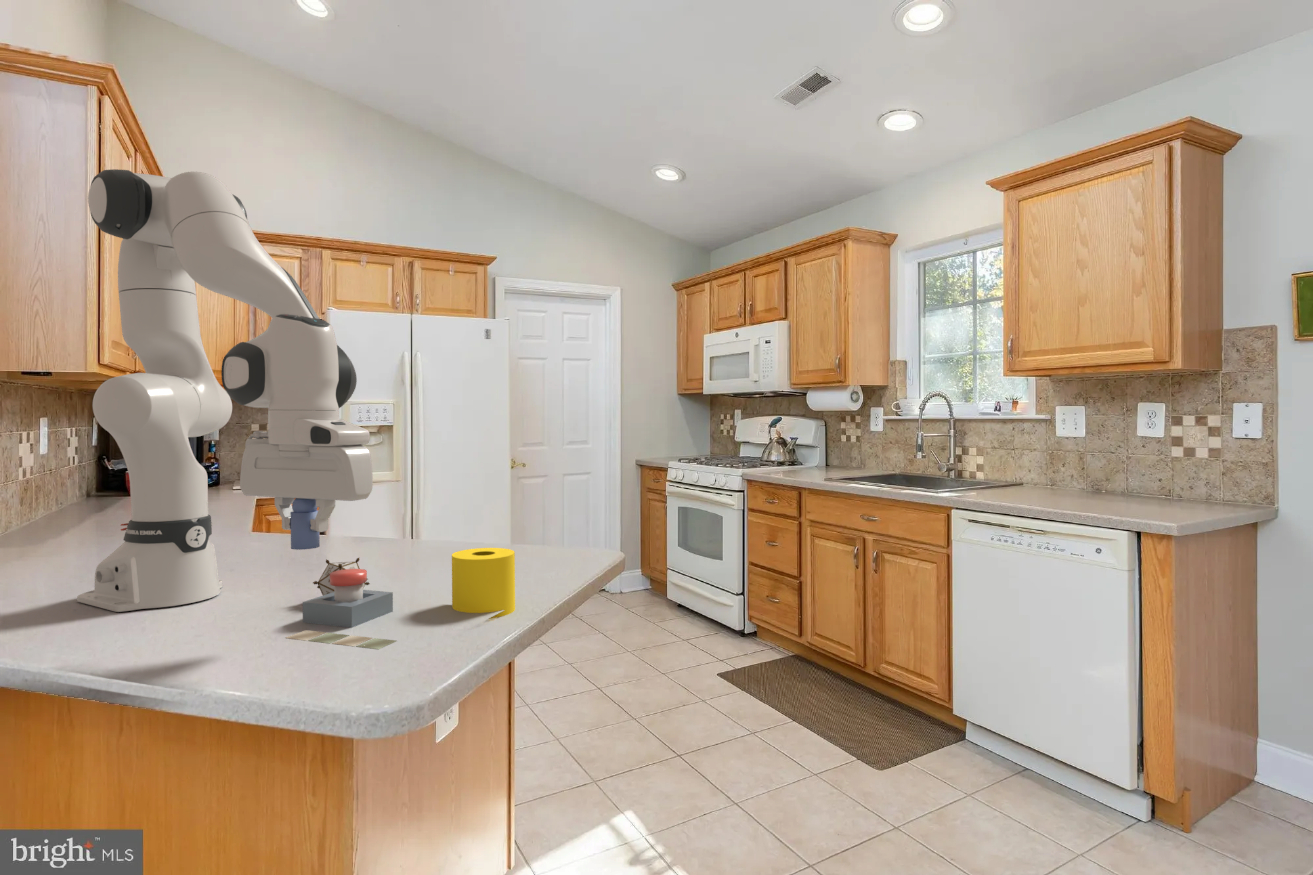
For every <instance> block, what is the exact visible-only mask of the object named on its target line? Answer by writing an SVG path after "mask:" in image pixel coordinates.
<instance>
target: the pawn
mask: <svg viewBox="0 0 1313 875" xmlns="http://www.w3.org/2000/svg"><path fill="white" fill-rule="evenodd" d="M291 505H292V509H293V512H291V530H290V549H291V550H296V551H299V550H300V551H301V550H311V549H317V548H319V547H320V532H313V531H311V529H310V527H311V524H310V519H315V518H316V515H317V513H318V510H319V509H318V507H316V499H303V498H294V501H293V504H291Z"/></svg>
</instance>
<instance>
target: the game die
mask: <svg viewBox="0 0 1313 875" xmlns="http://www.w3.org/2000/svg"><path fill="white" fill-rule="evenodd" d="M359 561H360V557H357V558H356V559H355V561H344V562H343V561H341V562H330V560H329V559H325V563H326V564H327V565H326V567H325V569H324V570H323V572H322V574H321V576H320V578H319V579H318V581H316V580H315V581H313V582H312V584H313V585H317V587H316V588H317V589H319V590H320V593H321V596H323V595H326V594H329V593H332V592H334V586H333V585H330V573H332V572H334V571H339V570H345V569H361V568H360V566H359V564H358V562H359ZM368 580H369V578H367V581H366V582H365V583H363V589H364V587H365V586H369V585H371V583H370V582H369V581H368Z"/></svg>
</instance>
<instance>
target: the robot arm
mask: <svg viewBox="0 0 1313 875" xmlns="http://www.w3.org/2000/svg"><path fill="white" fill-rule="evenodd" d="M87 195H88V196H87V202H88V209H89V212H90V215H91V218H92V221H93V222H94V224H95V225H96V226H97V227H98V229H99V230H100V231H102V232H103V233H105V234H108V235H110V236H113V237H116V238H120V239H122V240H121V243H120V247H119V253H118V254H119V255H118V261H117V262H118V263H117V288H118V289H117V290H118V300H119V312H120V322H121V324H120V325H121V332H122V333H121V334H122V338H123V340H124V342H125V344H126V345H127V346H128V347H129V348H130V349H131V350H132V351H133V352H134V353H135V355H137V357H138V359H139V361H140V363H141V365H142V366H143V369H144V371H145V372H135V373H129V374H122V375H119V376H115V377H111V378H108V379H107V380H105V381H104V382H102V383H101V385H99V386H98V388H97V389H96V391H95V393H94V395H93V399H92V412H93V415H94V417H95V419H96V420H95V421H96V422H97V423H98V424H99V425H100V427H101V428H103V429H104V430H105V431H107V432H108V433H109V434H110V435H111V436H112V438H113V439H114V440H115V442H116V444H117V446H118V448H119V451H120V452H121V454H122V457H123V460H124V462H125V465H126V468H127V472H128V477H129V490H130V491H129V492H130V493H129V494H130V509H131V510H130V511H131V512H130V513H131V514H130V515H131V519H130V520H129V521H128V522H127V523H120V526H126V527H124V528H121V529H120V531H121V532H122V531H125V533H124V536H123V541H124V542H123V543H122V544H120V545H119V546H118V547H117V548H116V549H114V551H113V552H111V553H110V554H109V555H108V556H106V557H105V558H104V559H103V560H102V561H100V563H98V565H97V566H96V568H95V573H94V589H92V590H90V591H89V590H88V591H87V592H84V593H81V594H79V595H77V596H76V602H77V603H80V604H84V605H85V604H86V605H88V606H93V607H96V608H100V609H104V610H108V611H112V612H117V613H119V612H120V613H121V612H129V611H136V610H144V609H157V608H169V607H175V606H181V605H187V604H191V603H193V604H194V603H196V602H202V601H204V600H209V599H211V598H214V597H216V596H218V595H219V594H221V592H222V590H221V588H223V586H224V584H223V580H219V574H218V573H219V572H218V565H217V557H216V550H215V545H214V543H212V541H211V539H210V536H211V535H212V532H213V531H212V530H213V522H212V516H211V514H209V491H208V490H209V486H208V484H209V483H208V482H209V480H208V473H207V470H206V469H205V467H204V466H202V464H200V463H199V461H198V460H197V459H196V457H195V455H194V453H193V452H194V451H193V450H192V448H191V443H190V440H189V438H197V437H201V436H202V437H203V436H205V435H208V434H211V433H214V432H216V431H219V430H220V429H222V428H223V427H225V426H226V425H227V423H228V422H229V420H230V419H231V416H232V413H233V403H232V400H233V401H234V402H235V403H237V404H238V405H240V406H244V407H245V406H246V407H249V408H256V409H257V408H259V409H261V408H262V409H267V410H268V411H267V413H268V414H267V416H268V417H267V419H268V420H267V426H268V427H267V428H268V431H263V430H255V431H253V433H252V434H250V436H248V437H247V439H246V440H245V446H244V448H245V449H244V451H243V454H242V459H241V467H240V473H239V474H240V477H239V478H240V479H239V489H240V490H241V493H242V494H243V495H244V496H246V497H247V496H248V497H262V498H263V497H264V498H265V497H267V498H274V506H275V508H276V510H277V513H278V514H279V516H280V517H281V529H282V530H285V531H287V530H288V531H291V512H293V509H292V504H293V501H294V500H295V499H296V498H303V499H316V507H317V508H318V509H317V510H318V513H317V515H316V518H315V519H310V524H311V527H310V529H311V531H313V532H319V533H324V532H327V531H328V530H329V518H330V517H331V515H332V513H333V512H334V509H335V508H336V501H344V502H345V501H346V502H353V501H354V502H355V501H361V500H362V501H363V500H366V499H368V497H369V496H370V495H371V493H372V491H373V486H374V485H373V484H374V483H373V482H374V481H373V479H374V478H373V476H374V475H373V460H372V457H371V452H370V450H369V449H368V448H367V447H366V446H365V445H368V444H370V439H371V438H370V437H371V436H370V435H371V434H370V431H369V430H368V429H367V428H364V427H362V426H359V425H357V424H354V423H351V422H349V421H348V420H345V419H342V418H340V408H342V407H343V406H344V405H345V404H346V403H347V402H348V401H349V400H350V398H351V397H352V396H353V394H354V393H355V390H356V388H357V387H356V386H357V383H358V382H357V381H358V380H357V373H356V372H357V371H356V369H355V366H354V364H353V362H352V360H351V359H350V357H349V356H348V355H347V353H345V351H344V350H343V349H342V348H341V347H340V346H339V345H338V344H337V338H336V334H335V330H334V327H333V326H332V324H330V323H329V322H328V321H326V320H324V319H322V318H321V319H320V317H319V316H318V314H317V312H316V311H315V308H314V307H313V306H312V304H311V302H310V301H309V300H308V298H307V297H306V294H305V293H304V291H303V290H302V288H301V286H299V284H298V282H297V281H296V280H295V279H294V277H293V276H292V275H291V274H290V273H289V272H288V271H287V270H286V269H285V268H284V267H282V266H280V264H279V263H277V261H276V260H275V259H274V258H273V257H272V256H271V255H270V254H269V253H268V252H267V251H266V249H265V248H264V247H263V245H262V244H261V243H260V242H259V240H258V239H257V236H256V235H255V234H254V231H253V230H252V227H251V225H250V223H249V221H248V220H249V219H248V214H247V211H246V207H245V205H244V204H243V202H242V200H241V199H240V198H239V197H238V196H236V195H234V194H233V193H232V192H231V190H229V188H228V187H227V185H226V184H225V183H224V182H223V181H221V180H220V179H219V178H217V177H216V176H214V175H212V174H209V173H206V172H201V171H185V172H181V173H179V174H176V175H175V176H172V177H168V176H162V175H156V174H148V173H139V172H132V171H131V170H129V169H114V168H113V169H104V170H102V171H100V172H99V173H98V174H95V176H94V177H93V179H92V181H91V184H90V186H89V190H88V194H87ZM196 283H197V284H198V285H199V286H202V287H203V288H205V289H207V290H209V291H211V292H214V293H216V294H219V295H222V296H224V297H228V298H231V299H233V300H235V301H239V302H242V303H244V304H247V305H250V306H252V307H254V308H256V309H258V310H260V311H261V312H262V313H265V314H266V315H268V316H269V317H271V320H270V321H269V324H268V327H267V329H266V330H264V331H263V332H262V333H260V334H259V335H257V336H255V337H253V338H252V339H250V340H247V341H241V342H239V343H236V344H235V345H234V346H233V347H231V348H230V349H229V350H228V352H227V353H226V354H225V355H224V356H223V359H222V362H221V363H222V364H221V369H220V371H221V382H222V385H221V384H220V383H219V381H218V380H217V378H216V376H215V374H214V372H213V371H214V370H213V369H212V366H211V363H210V362H209V359H208V356H207V353H206V350H205V347H204V345H203V340H202V335H201V328H200V327H201V326H200V319H199V318H200V316H199V307H198V298H197V297H198V296H197V289H196Z"/></svg>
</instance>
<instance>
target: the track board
mask: <svg viewBox="0 0 1313 875" xmlns="http://www.w3.org/2000/svg"><path fill="white" fill-rule="evenodd" d="M285 639H289V640H297V641H304V642H305V641H306V642H313V643H323V644H328V645H329V644H331V645H339V646H347V647H356V648H363V649H364V648H365V649H373V650H380V649H383V648H385V647H387V646H389V645H391V644H395V643H396V642H397V640H394V639H388V638H387V639H386V638H377V637H374V638H373V637H368V636H361V635H359V636H358V635H352V634H351V635H350V634H342V633H334V632H325V631H315V630H307V629H305V630H302V631H300V632H297V633H294V634H292V635H288V636H286V637H285Z"/></svg>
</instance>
